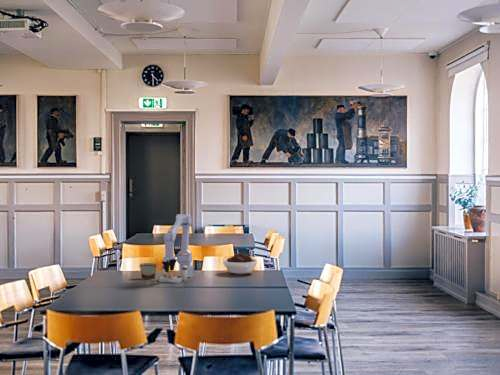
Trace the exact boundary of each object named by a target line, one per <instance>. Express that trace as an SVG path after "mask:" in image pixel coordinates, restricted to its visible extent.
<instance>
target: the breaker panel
mask: <svg viewBox="0 0 500 375" xmlns="http://www.w3.org/2000/svg"><path fill="white" fill-rule="evenodd" d="M158 277H159V278H158V282H159V283H169V284H170V283H174V284H180V283H182V282H184V281H183V277H181V276H177V275H173V277H168V274H167V275H164V276H162V275H161V276H158Z"/></svg>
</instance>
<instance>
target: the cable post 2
mask: <svg viewBox="0 0 500 375" xmlns="http://www.w3.org/2000/svg"><path fill="white" fill-rule="evenodd" d="M182 277H183V281H182V282H188V277H187V266H182Z"/></svg>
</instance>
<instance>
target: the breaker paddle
mask: <svg viewBox="0 0 500 375" xmlns="http://www.w3.org/2000/svg"><path fill="white" fill-rule="evenodd" d="M167 276H168V277H173V276H174V275H173V272H167Z"/></svg>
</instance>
